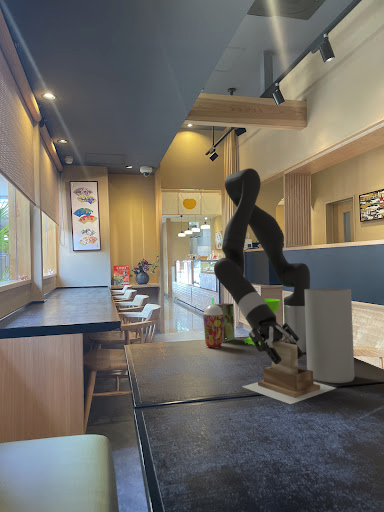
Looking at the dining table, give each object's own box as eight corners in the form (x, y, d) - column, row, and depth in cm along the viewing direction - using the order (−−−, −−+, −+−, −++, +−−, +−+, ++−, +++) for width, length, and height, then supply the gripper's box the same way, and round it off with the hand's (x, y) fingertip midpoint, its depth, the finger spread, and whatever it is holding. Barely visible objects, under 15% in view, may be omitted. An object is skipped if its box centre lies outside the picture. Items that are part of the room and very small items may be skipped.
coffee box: (222, 338, 166) (222, 303, 167) (235, 339, 162) (234, 303, 163) (211, 341, 159) (211, 304, 159) (224, 342, 155) (223, 305, 156)
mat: (286, 375, 105) (286, 374, 105) (336, 389, 92) (336, 387, 92) (241, 388, 95) (241, 386, 95) (290, 405, 82) (290, 404, 82)
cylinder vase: (359, 385, 95) (355, 290, 96) (310, 383, 97) (307, 291, 98) (349, 372, 107) (345, 288, 108) (305, 370, 110) (302, 288, 111)
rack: (283, 378, 101) (282, 362, 101) (320, 389, 92) (319, 371, 92) (257, 385, 96) (257, 368, 96) (294, 397, 86) (294, 378, 86)
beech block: (280, 378, 98) (279, 341, 98) (298, 384, 93) (297, 345, 93) (272, 381, 96) (271, 343, 96) (290, 386, 91) (288, 346, 91)
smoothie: (200, 346, 149) (199, 297, 150) (217, 344, 153) (216, 296, 153) (209, 349, 142) (208, 298, 142) (227, 347, 145) (226, 297, 146)
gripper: (244, 304, 97) (279, 355, 87) (280, 301, 105) (315, 347, 95) (232, 322, 101) (263, 373, 91) (267, 317, 109) (299, 363, 99)
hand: (290, 359), depth 93 cm, fingers open, 8 cm apart
